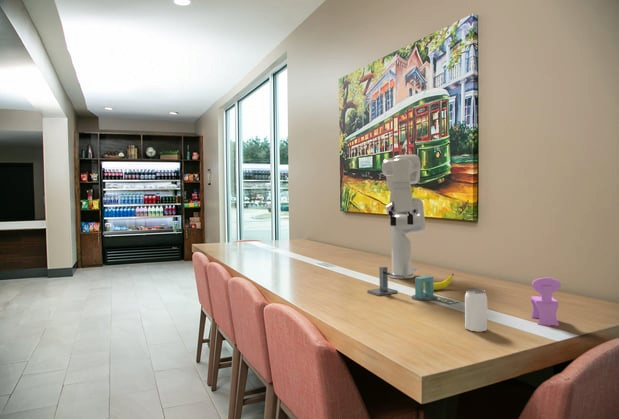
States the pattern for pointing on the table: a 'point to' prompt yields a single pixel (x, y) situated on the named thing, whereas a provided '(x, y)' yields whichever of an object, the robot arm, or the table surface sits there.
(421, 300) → the coaster
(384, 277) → the stand
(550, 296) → the toy chair
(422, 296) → the link
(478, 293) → the can
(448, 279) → the banana
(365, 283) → the table surface
